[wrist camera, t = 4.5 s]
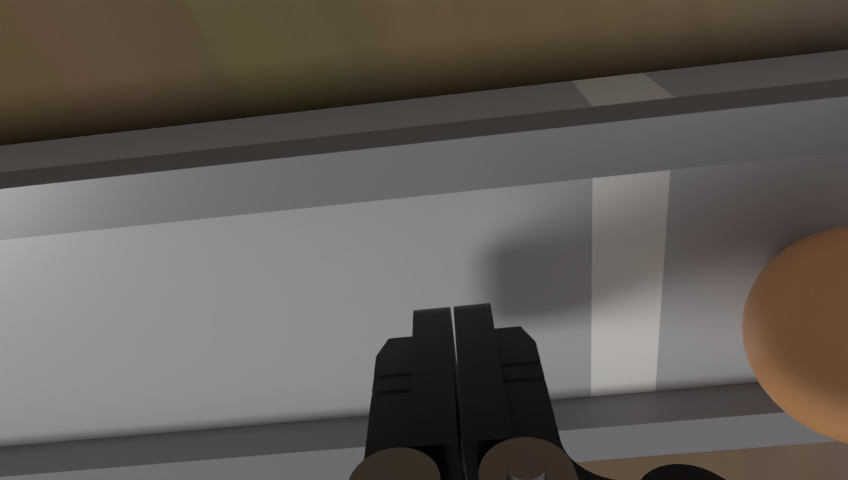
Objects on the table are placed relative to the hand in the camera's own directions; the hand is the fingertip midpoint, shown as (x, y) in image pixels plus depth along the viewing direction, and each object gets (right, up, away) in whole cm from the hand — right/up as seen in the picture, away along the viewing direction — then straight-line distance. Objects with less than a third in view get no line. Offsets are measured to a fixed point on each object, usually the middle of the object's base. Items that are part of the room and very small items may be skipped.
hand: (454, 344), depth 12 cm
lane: (+3, +2, +3) cm, 5 cm away
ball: (+7, 0, -1) cm, 8 cm away
